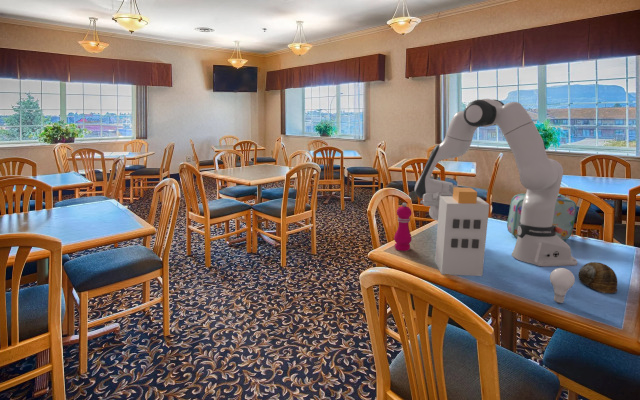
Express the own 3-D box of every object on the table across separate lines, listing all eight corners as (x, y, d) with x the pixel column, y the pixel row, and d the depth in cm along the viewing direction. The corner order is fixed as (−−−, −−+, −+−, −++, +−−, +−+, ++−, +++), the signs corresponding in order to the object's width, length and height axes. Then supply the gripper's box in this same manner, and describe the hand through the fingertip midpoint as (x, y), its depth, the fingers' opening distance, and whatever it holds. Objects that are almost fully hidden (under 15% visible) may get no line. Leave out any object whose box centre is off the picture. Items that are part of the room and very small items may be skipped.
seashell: (570, 280, 132) (573, 259, 131) (593, 278, 134) (597, 257, 132) (599, 295, 122) (603, 272, 120) (624, 293, 123) (628, 269, 121)
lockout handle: (459, 190, 153) (460, 181, 152) (476, 203, 132) (477, 192, 131) (444, 190, 154) (445, 180, 153) (458, 203, 132) (459, 191, 131)
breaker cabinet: (472, 263, 148) (478, 196, 142) (482, 276, 135) (490, 205, 130) (435, 261, 149) (439, 196, 143) (442, 275, 137) (447, 204, 131)
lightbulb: (567, 299, 119) (573, 266, 116) (573, 309, 113) (579, 274, 111) (544, 296, 121) (549, 263, 119) (548, 305, 115) (553, 271, 113)
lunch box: (563, 235, 181) (569, 191, 176) (575, 243, 171) (582, 195, 166) (504, 234, 183) (509, 190, 178) (512, 241, 173) (518, 194, 168)
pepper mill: (411, 252, 160) (413, 205, 155) (393, 250, 161) (395, 204, 157) (410, 246, 166) (413, 201, 162) (393, 245, 168) (395, 200, 163)
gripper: (419, 196, 170) (424, 186, 157) (467, 197, 168) (476, 186, 155) (419, 210, 168) (425, 201, 155) (468, 211, 166) (477, 201, 153)
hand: (451, 194), depth 155 cm, fingers open, 8 cm apart
